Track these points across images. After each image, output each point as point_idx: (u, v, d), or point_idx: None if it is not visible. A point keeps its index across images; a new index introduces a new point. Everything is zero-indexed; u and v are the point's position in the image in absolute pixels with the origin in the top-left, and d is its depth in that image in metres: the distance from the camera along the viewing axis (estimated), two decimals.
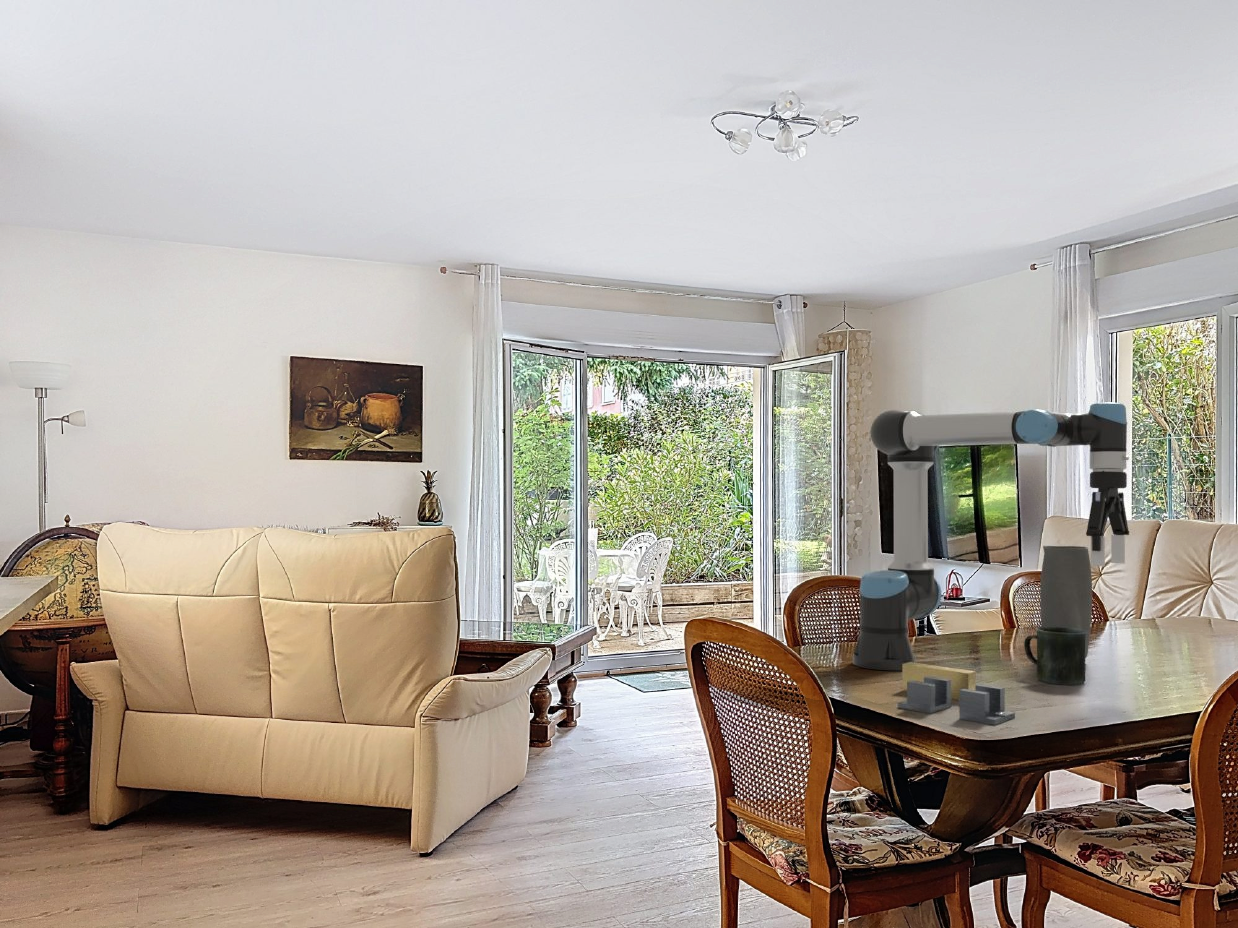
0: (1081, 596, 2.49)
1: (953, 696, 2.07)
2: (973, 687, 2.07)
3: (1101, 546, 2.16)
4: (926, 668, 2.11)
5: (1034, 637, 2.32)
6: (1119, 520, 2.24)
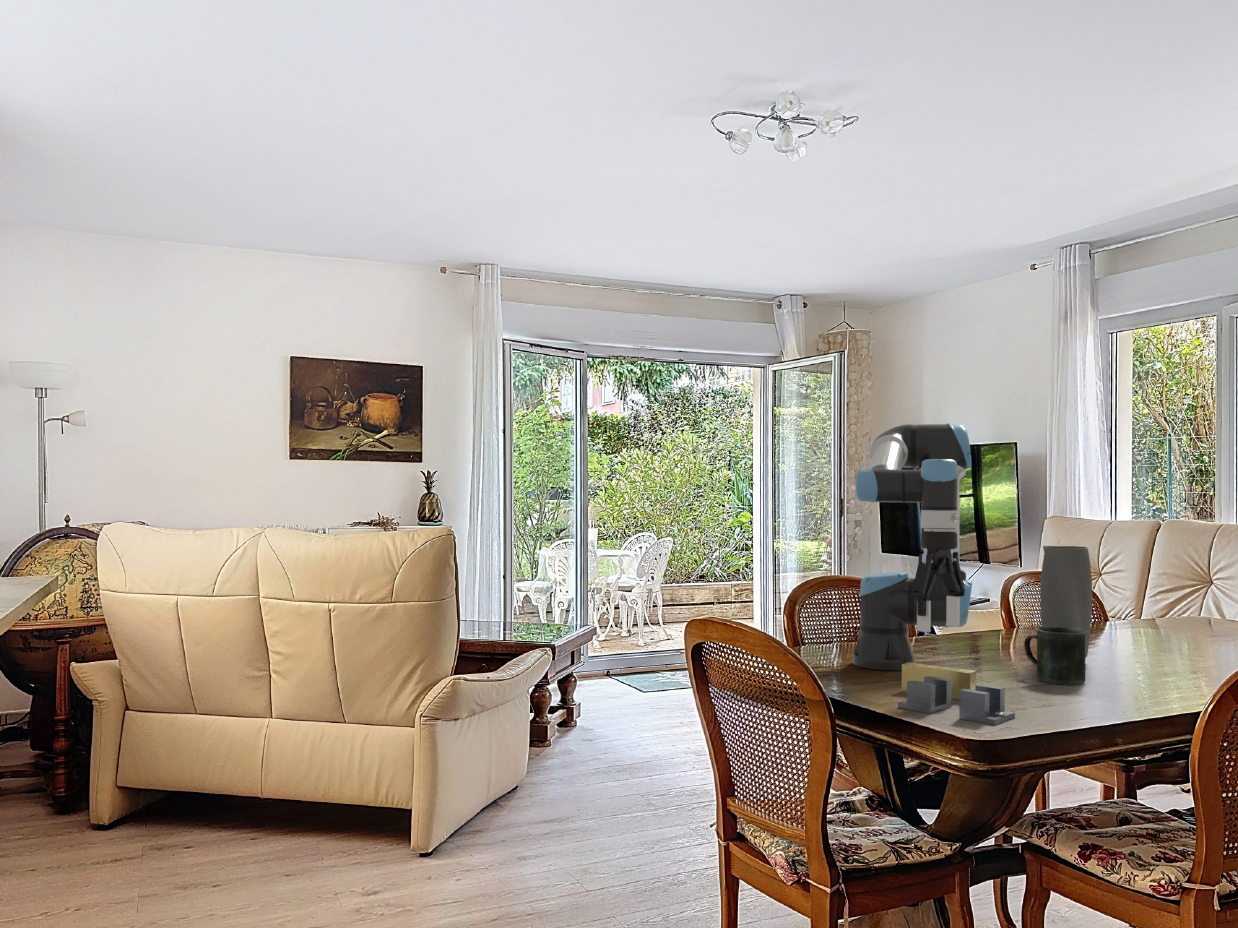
0: (1081, 596, 2.49)
1: (955, 696, 2.07)
2: (974, 687, 2.07)
3: (926, 611, 2.06)
4: (926, 668, 2.11)
5: (1034, 637, 2.32)
6: (952, 581, 2.14)
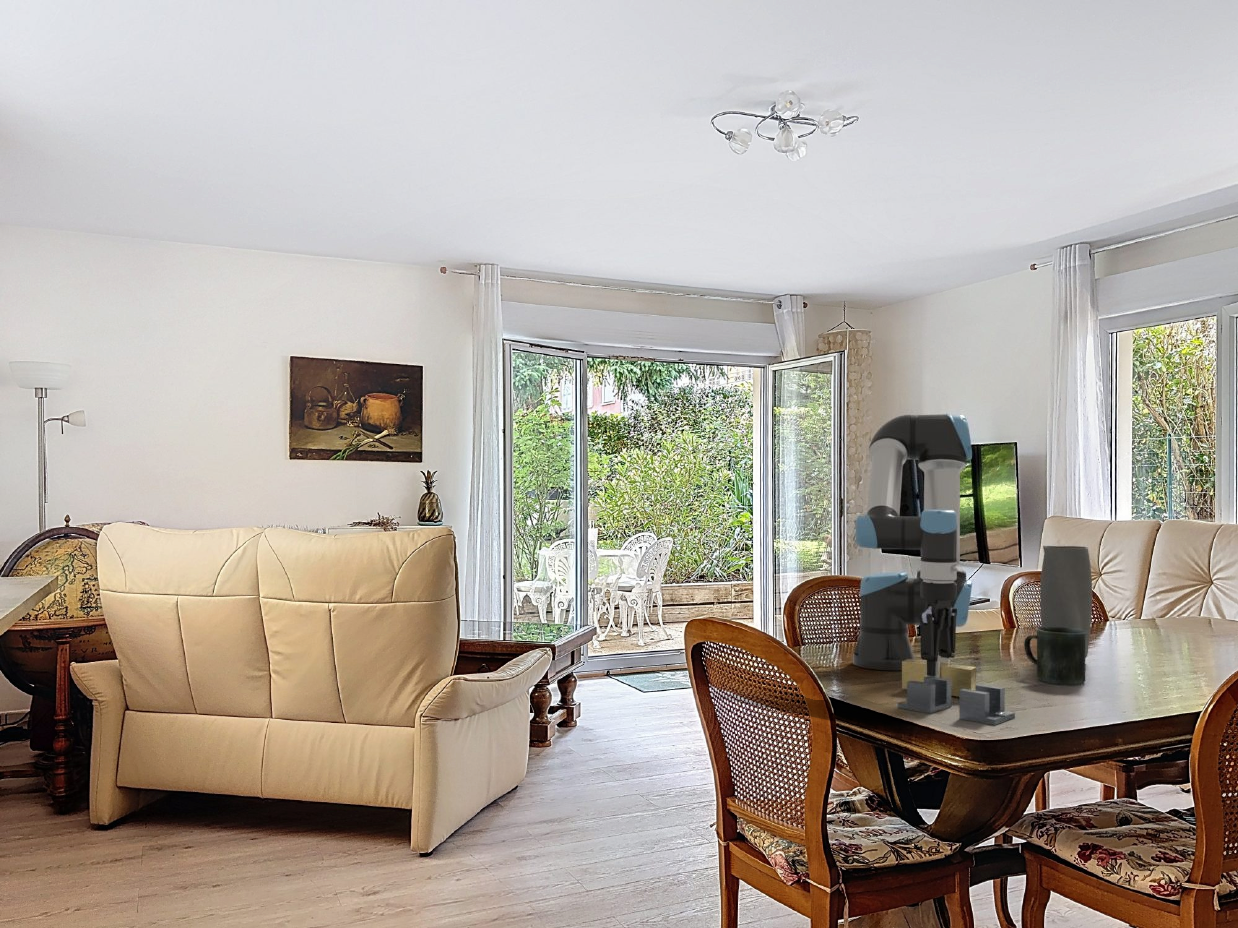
0: (1081, 596, 2.49)
1: (955, 692, 2.08)
2: (974, 683, 2.08)
3: (936, 671, 2.09)
4: None
5: (1034, 637, 2.32)
6: (946, 637, 2.12)
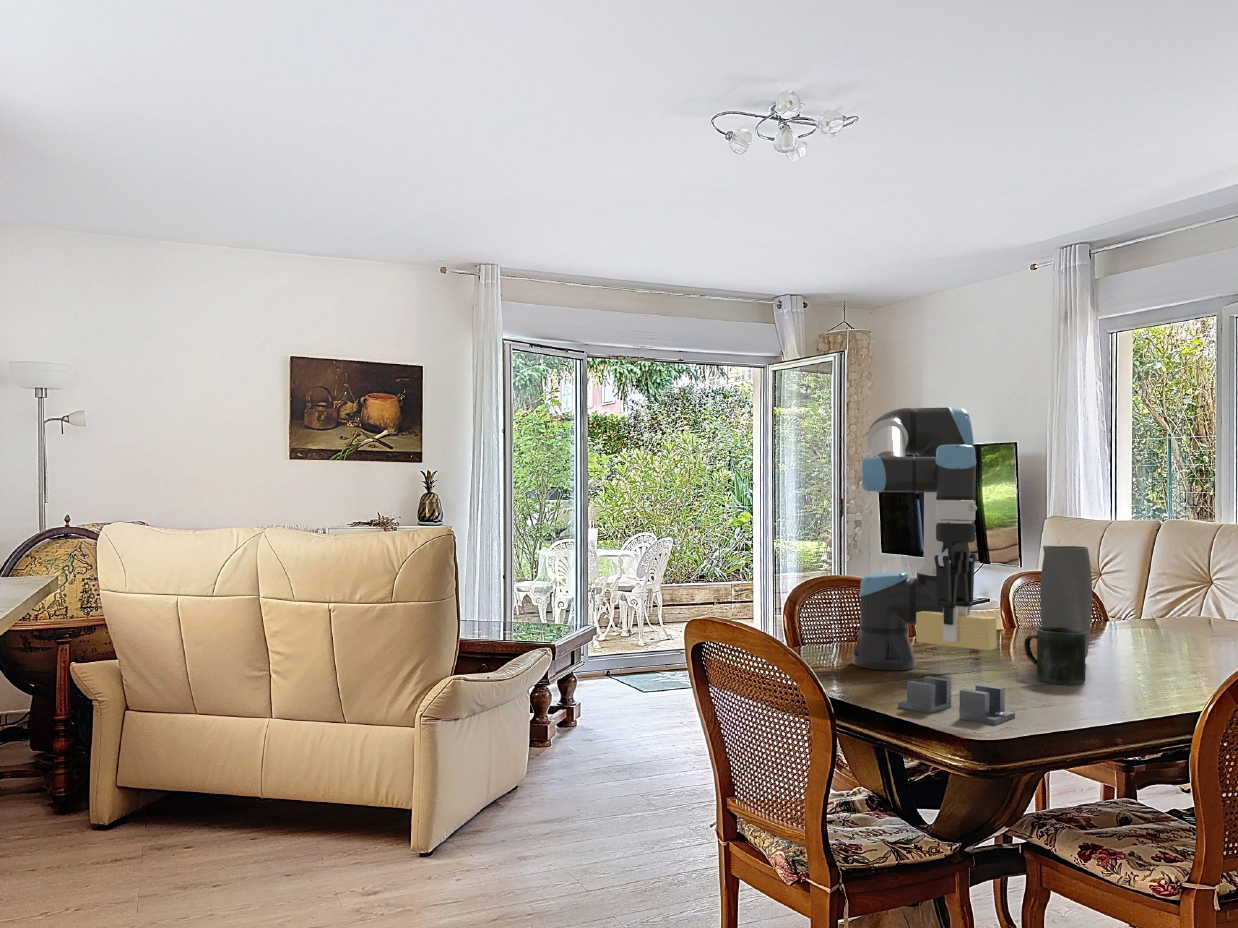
0: (1081, 596, 2.49)
1: (972, 644, 1.90)
2: (994, 634, 1.89)
3: (953, 619, 1.92)
4: (942, 616, 1.94)
5: (1034, 637, 2.32)
6: (964, 583, 1.95)
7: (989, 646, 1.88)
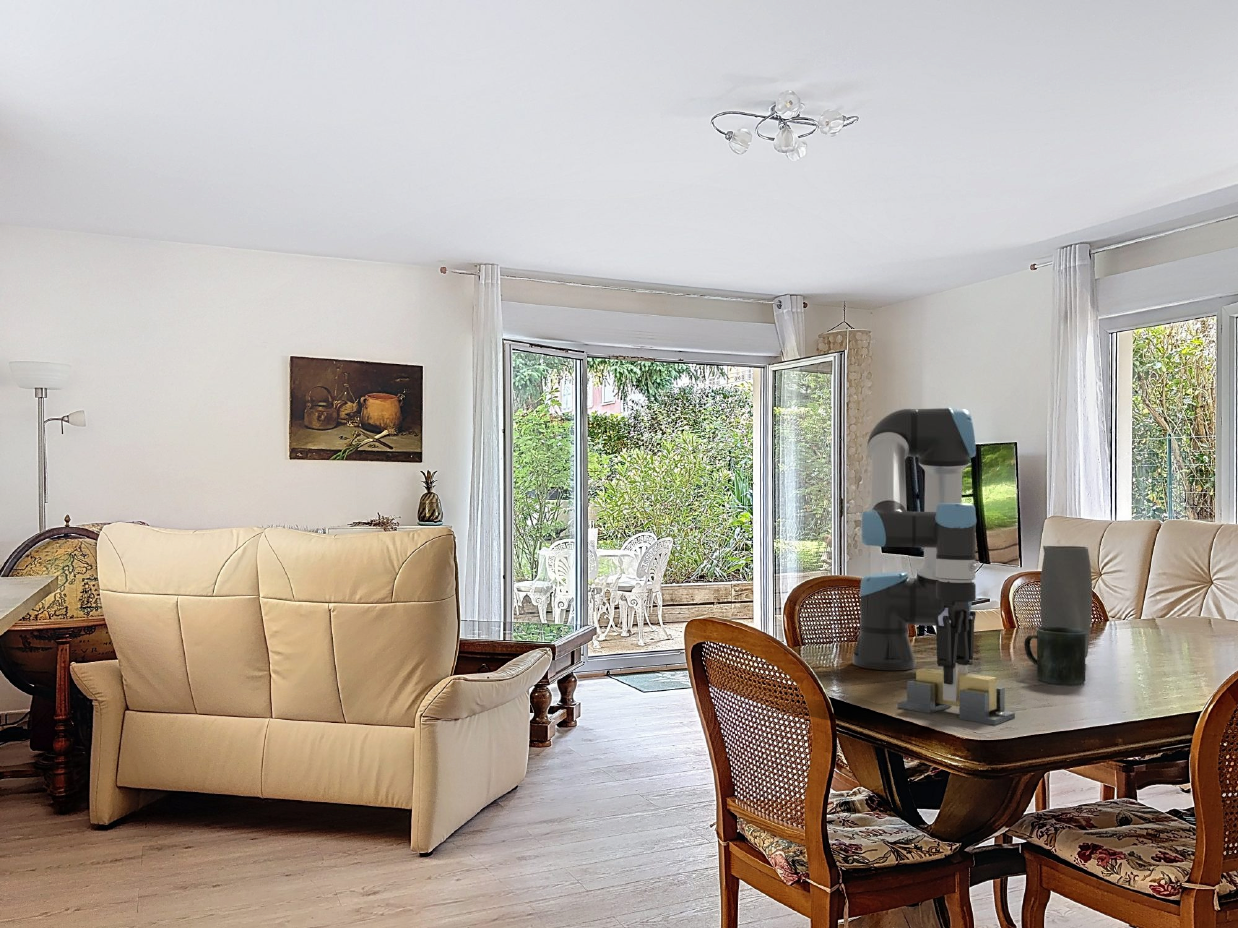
0: (1081, 596, 2.49)
1: None
2: (994, 695, 1.89)
3: (953, 678, 1.91)
4: (942, 674, 1.94)
5: (1034, 637, 2.32)
6: (964, 642, 1.95)
7: (989, 706, 1.87)
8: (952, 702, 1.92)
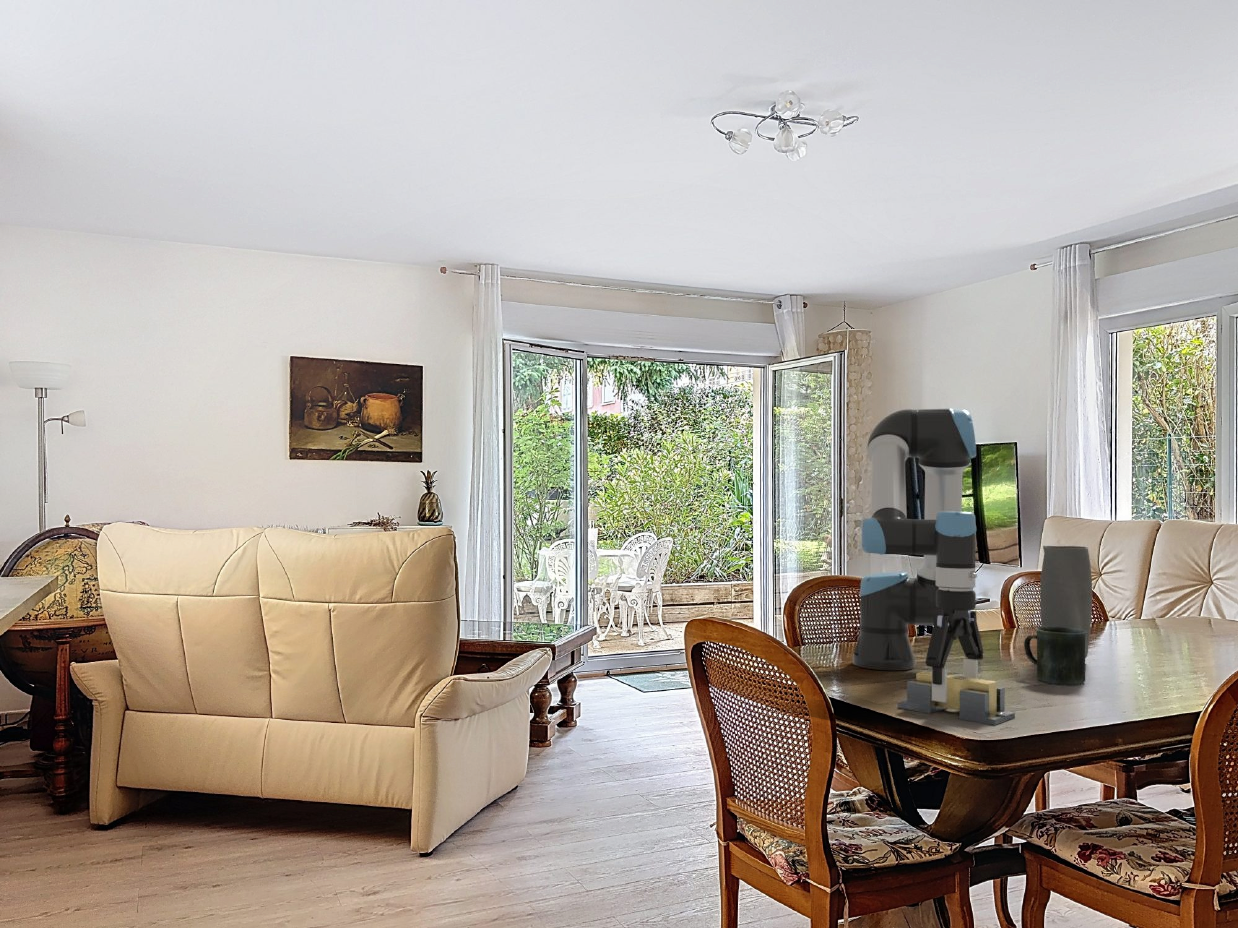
0: (1081, 596, 2.49)
1: None
2: (994, 699, 1.89)
3: (942, 679, 1.88)
4: None
5: (1034, 637, 2.32)
6: (970, 643, 1.97)
7: (989, 711, 1.87)
8: (952, 706, 1.92)
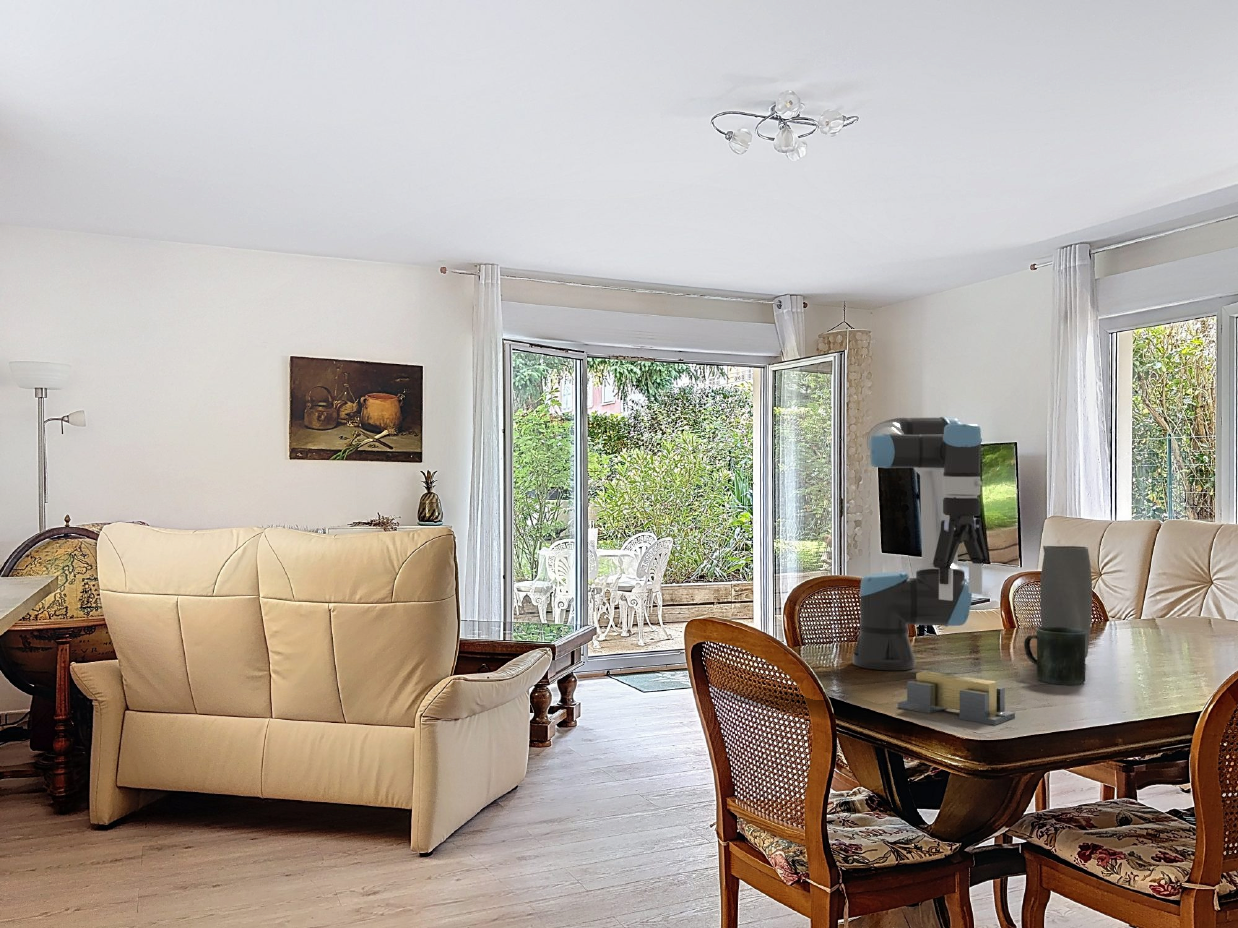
0: (1081, 596, 2.49)
1: None
2: (994, 699, 1.89)
3: (949, 579, 2.02)
4: (942, 678, 1.94)
5: (1034, 637, 2.32)
6: (975, 548, 2.10)
7: (989, 711, 1.87)
8: (952, 706, 1.92)
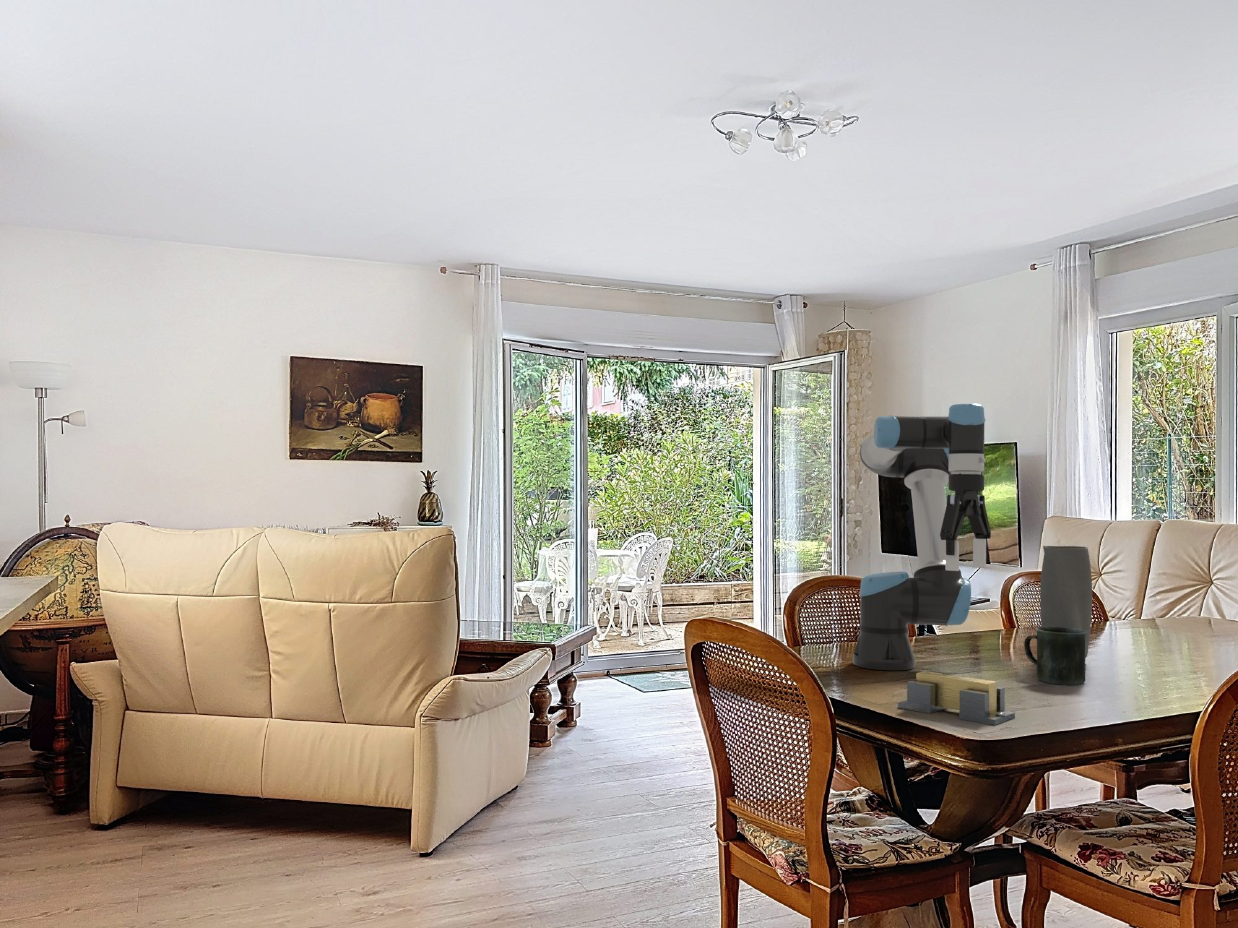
0: (1081, 596, 2.49)
1: None
2: (994, 699, 1.89)
3: (955, 550, 2.11)
4: (942, 678, 1.94)
5: (1034, 637, 2.32)
6: (979, 523, 2.20)
7: (989, 711, 1.87)
8: (952, 706, 1.92)
